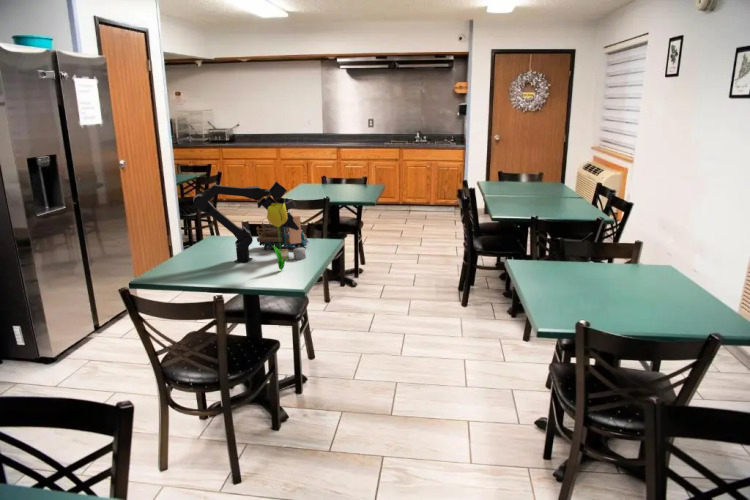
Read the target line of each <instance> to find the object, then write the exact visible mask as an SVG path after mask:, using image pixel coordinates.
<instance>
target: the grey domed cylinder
mask: <svg viewBox="0 0 750 500" xmlns="http://www.w3.org/2000/svg"><path fill="white" fill-rule="evenodd" d="M292 251H293V259H294V260H297V261H300V260H301V261H302V260H305V259H306V258H307V257H306V256H307V255H306V248H305V247H303V248H296V247H294V248H293V249H292Z"/></svg>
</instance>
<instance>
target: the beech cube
mask: <svg viewBox="0 0 750 500" xmlns="http://www.w3.org/2000/svg"><path fill="white" fill-rule="evenodd" d="M278 249H279V251H280V248H278ZM280 254H281V256H282V260H284V259H285V258H286V257H287V256H288V257H287V258H286V260H285V262H286V261H287V262H288V261H289V260H290V259H289V258H290V255H289V248H281V253H280Z"/></svg>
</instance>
